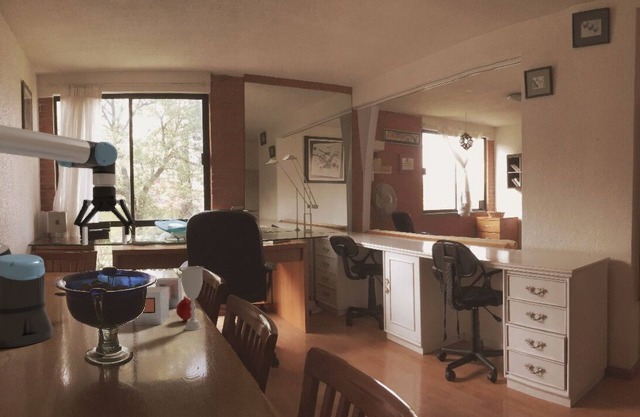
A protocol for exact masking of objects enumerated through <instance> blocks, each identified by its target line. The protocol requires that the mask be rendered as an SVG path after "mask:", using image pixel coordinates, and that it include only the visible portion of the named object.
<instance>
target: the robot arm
mask: <svg viewBox="0 0 640 417" xmlns="http://www.w3.org/2000/svg"><path fill="white" fill-rule="evenodd" d="M118 153H119V152H118V150H117V148H116V146H115V145H114V144H113V143H111V142H109V141H99V142H97V141H92V140H84V139H79V138H74V137H70V136H64V135H58V134H54V133H52V134H51V133H47V132H42V131H37V130H31V129H24V128H21V127H19V128H18V127H16V126H15V127H14V126H9V125H3V124H0V154H6V155H13V156H22V157H29V158H36V159H43V160H44V159H45V160H52V161H56V163H57V164H58V165H59V166H60V167H62V168H63V167H64V168H68V169H69V168H75V169H90V170H92V171H91V172H92V186H93V187H92V200H90V199H83V201H82V206H81V208H80V210H79V212H78V214H77V216H76V218H75V220H74V222H73V225H74V226H77V227H79V236H80V237H82V246H88V245H89V240H88V239H89V235H88V234H89V233H88V231H89V229H88V226H87V225H88V223H89V222H90V221H91V220H92V218H94V217H95V215H96V214H98V212H99V213H101V212H102V213H103V212H104V213H105V212H106V213H108V212H109V213H110V212H111V213H112V214H113V215H114V216H115V217H116V218H117V219H118V220H119V222H121V223H122V225H124V226H122V227H121V228H122V229H121V230H122V231H121V232H122V233H121V234H122V236H121V237H122V242H121V243H122V245H127V244H128V236H129V235H130V233H131V232H130V231H131V230H130V228H131V226H132V225H134V224H135V223H136V222H135V220H134V218H133V216H132V214H131V212H130V211H129V208H128V207H127V204H126V200H125V199H123V198H121V199H117V189H116V187H115V186H116V174H117V173H116V161H117V160H118ZM117 204H118V206H120V208H121V210H122V212H123V214H124V215H125V217H126V218H125V217H124V216H123V215H122V213H121V212H120V211H119V210H118V209H117V207H116V206H117ZM91 205H92V206H93V207H92V209H90V212H89V213H88V214H87V211H88V209H89V207H90V206H91ZM86 214H87V215H86ZM85 215H86V216H85ZM45 273H46V267H45V262H44V259H43V258H42V257H41V256H39V255H36V254H30V253H29V254H25V253H12V251H11V249H10V247H9V246H8V245H6V244H3V243H1V242H0V349H7V348H18V347H23V346H24V347H25V346H29V345H33V344H37V343H41V342H44V341H45V340H48V339H50V338H52V337H53V336H54V327H53V325H52V322H51V320H50V317H49V314H48V312H47V310H46V286H45V285H46V283H45V282H46V279H45Z"/></svg>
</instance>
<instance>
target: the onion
mask: <svg viewBox="0 0 640 417" xmlns="http://www.w3.org/2000/svg"><path fill="white" fill-rule="evenodd" d="M190 305H191V299H189V298H188V297H187V295H184V296H183V298H182V300H181V301H180V302H179V304H178V305H177V308H175V312H176V315H177V316H178V317H179V318H180V319H181V320H183V321H184V322H187V321H188V320H190V319H191V316H192V315H191V313H190V311H191V306H190ZM194 309H195V310H196V307H195V308H194Z"/></svg>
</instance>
